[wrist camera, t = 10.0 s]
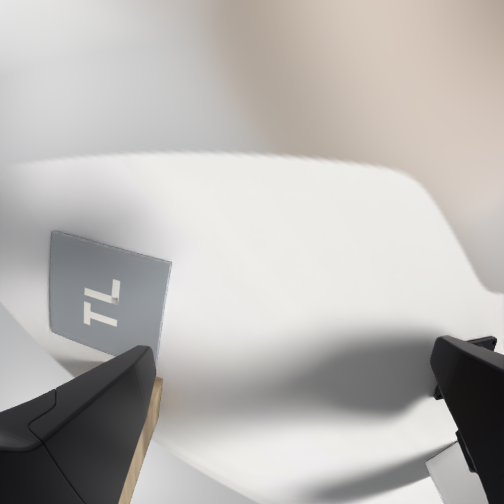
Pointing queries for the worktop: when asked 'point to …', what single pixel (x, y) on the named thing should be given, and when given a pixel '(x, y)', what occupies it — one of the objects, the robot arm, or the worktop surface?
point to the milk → (455, 478)
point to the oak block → (142, 443)
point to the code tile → (106, 295)
